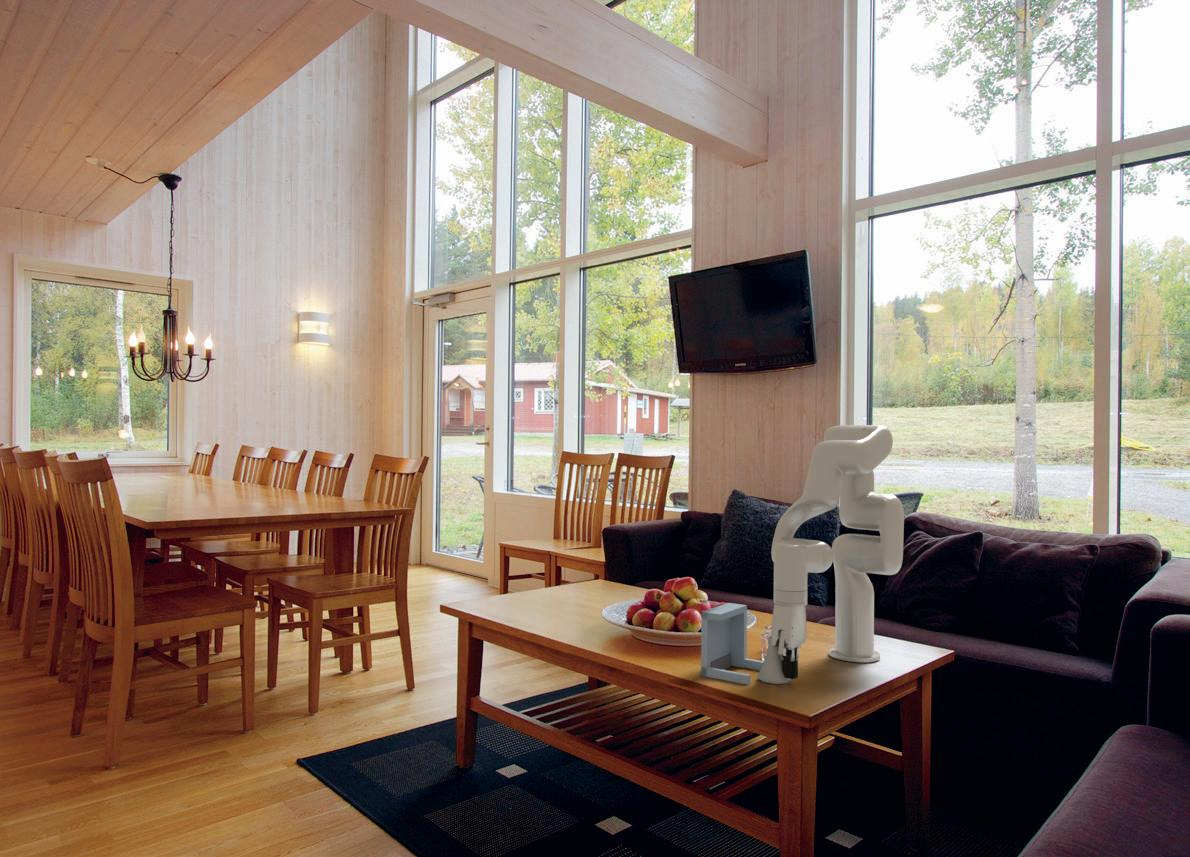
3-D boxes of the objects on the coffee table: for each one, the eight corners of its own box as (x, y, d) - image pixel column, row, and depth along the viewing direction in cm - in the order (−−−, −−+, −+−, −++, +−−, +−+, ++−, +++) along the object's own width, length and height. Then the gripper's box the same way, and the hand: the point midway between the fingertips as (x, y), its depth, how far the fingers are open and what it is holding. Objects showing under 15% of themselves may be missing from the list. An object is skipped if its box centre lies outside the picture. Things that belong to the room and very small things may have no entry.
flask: (796, 681, 188) (796, 638, 188) (776, 687, 183) (776, 642, 183) (772, 674, 193) (772, 632, 194) (751, 679, 189) (751, 636, 189)
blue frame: (728, 663, 203) (728, 602, 203) (773, 671, 196) (773, 608, 196) (701, 675, 191) (701, 611, 192) (747, 684, 184) (748, 618, 185)
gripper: (787, 590, 194) (787, 668, 194) (761, 599, 182) (760, 682, 182) (818, 594, 190) (817, 673, 190) (793, 603, 178) (792, 688, 177)
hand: (789, 677), depth 186 cm, fingers closed
